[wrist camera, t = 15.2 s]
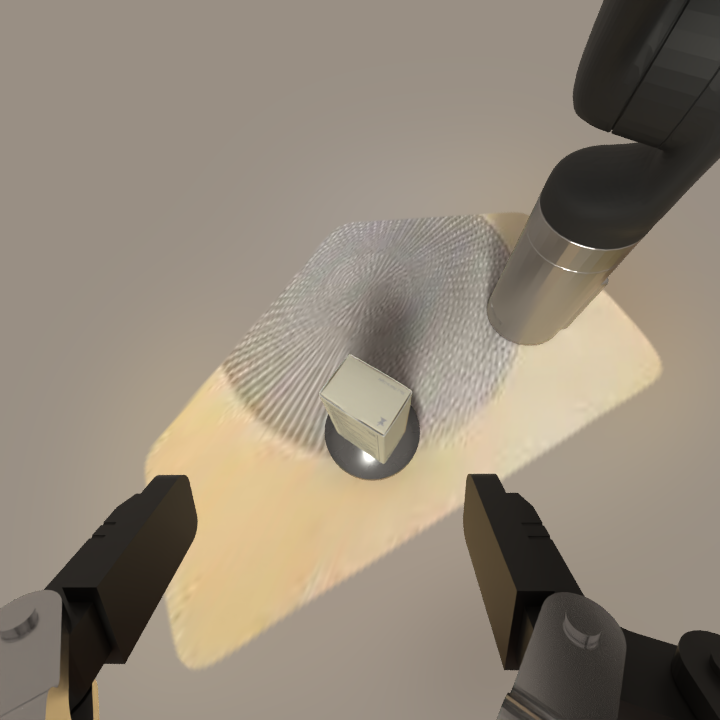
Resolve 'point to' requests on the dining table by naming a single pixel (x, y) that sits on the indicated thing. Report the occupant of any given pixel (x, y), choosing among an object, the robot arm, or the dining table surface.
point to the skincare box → (367, 407)
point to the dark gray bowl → (366, 465)
